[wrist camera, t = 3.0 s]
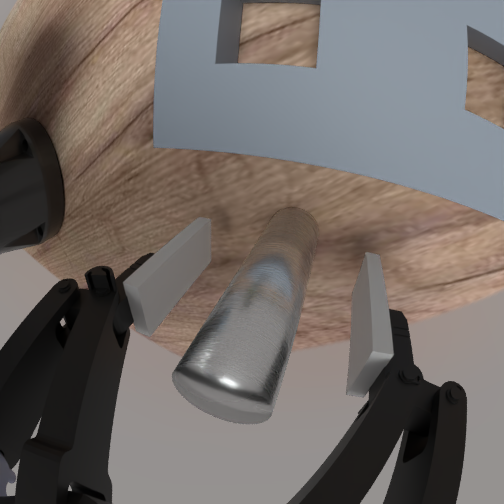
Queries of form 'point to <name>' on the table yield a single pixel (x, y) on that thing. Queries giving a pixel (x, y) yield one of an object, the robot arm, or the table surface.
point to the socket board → (341, 93)
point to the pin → (252, 326)
